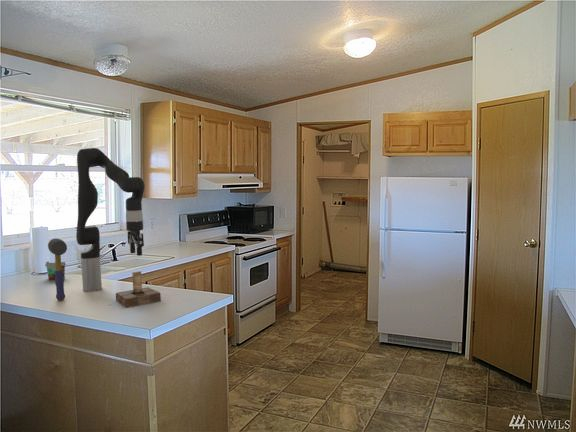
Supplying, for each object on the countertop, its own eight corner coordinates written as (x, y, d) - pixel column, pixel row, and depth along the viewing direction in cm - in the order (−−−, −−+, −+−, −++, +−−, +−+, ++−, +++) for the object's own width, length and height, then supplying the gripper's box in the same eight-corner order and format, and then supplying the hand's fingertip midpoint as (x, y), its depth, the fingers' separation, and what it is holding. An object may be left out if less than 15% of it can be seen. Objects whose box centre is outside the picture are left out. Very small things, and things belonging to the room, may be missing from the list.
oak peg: (132, 301, 224) (130, 272, 222) (140, 299, 226) (139, 270, 225) (135, 302, 220) (133, 273, 219) (144, 301, 223) (142, 272, 222)
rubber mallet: (50, 298, 231) (46, 238, 228) (67, 296, 235) (63, 236, 232) (54, 304, 221) (49, 241, 218) (71, 301, 225) (67, 239, 222)
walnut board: (116, 301, 224) (115, 292, 224) (148, 295, 234) (148, 287, 234) (127, 307, 212) (126, 299, 212) (160, 301, 222) (160, 292, 222)
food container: (41, 280, 274) (39, 263, 273) (48, 277, 280) (47, 261, 279) (59, 280, 271) (58, 263, 270) (66, 278, 277) (65, 261, 276)
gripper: (121, 219, 223) (123, 253, 225) (132, 221, 212) (133, 257, 213) (136, 218, 228) (138, 251, 229) (148, 220, 216) (149, 255, 218)
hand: (136, 254), depth 221 cm, fingers open, 8 cm apart
